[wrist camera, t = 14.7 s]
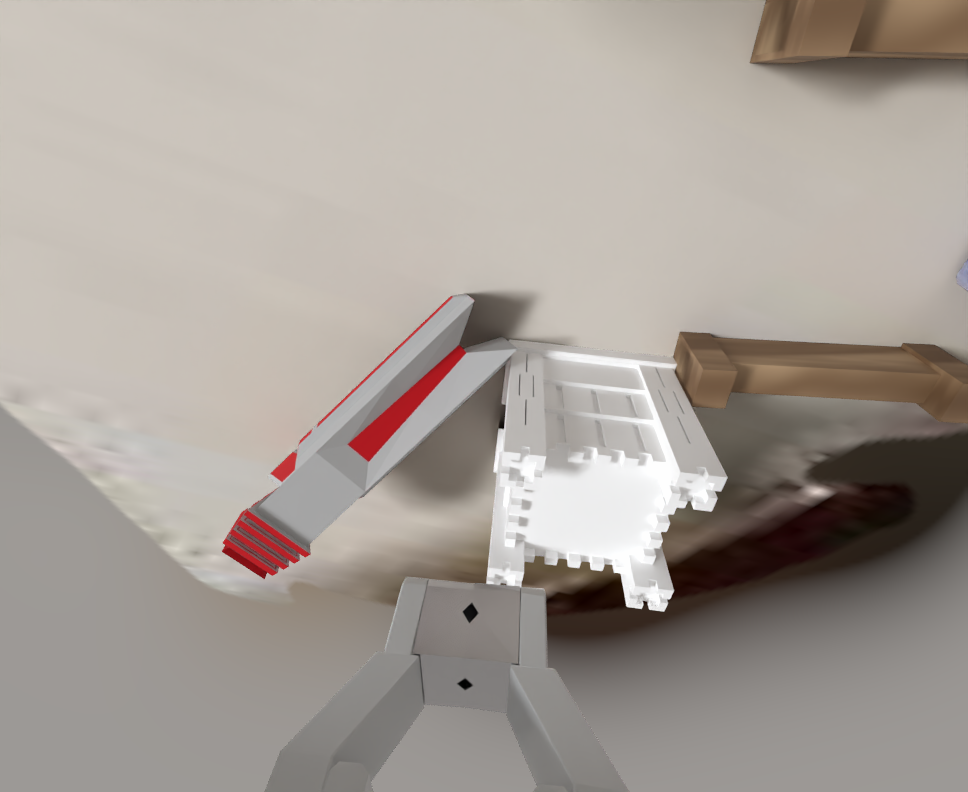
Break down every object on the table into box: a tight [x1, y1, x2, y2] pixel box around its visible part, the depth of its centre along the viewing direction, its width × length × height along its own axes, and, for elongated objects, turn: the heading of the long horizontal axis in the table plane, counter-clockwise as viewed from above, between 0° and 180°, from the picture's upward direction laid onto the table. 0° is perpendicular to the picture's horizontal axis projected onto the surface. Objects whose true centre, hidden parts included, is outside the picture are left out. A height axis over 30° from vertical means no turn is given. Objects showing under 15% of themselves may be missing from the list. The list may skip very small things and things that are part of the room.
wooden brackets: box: [673, 0, 968, 423], centre depth 31 cm, size 25×20×6 cm
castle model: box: [486, 339, 728, 611], centre depth 39 cm, size 14×14×15 cm
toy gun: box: [222, 294, 518, 579], centre depth 43 cm, size 7×28×15 cm, turn 131°
